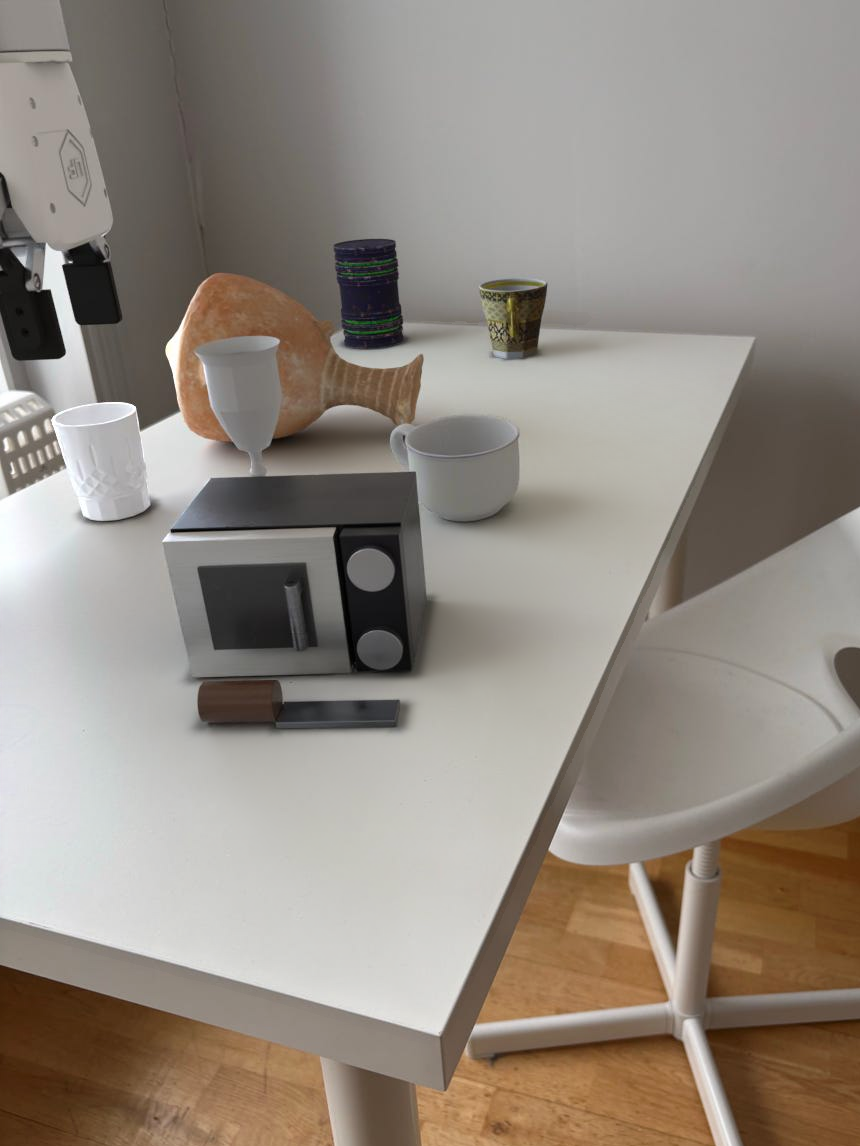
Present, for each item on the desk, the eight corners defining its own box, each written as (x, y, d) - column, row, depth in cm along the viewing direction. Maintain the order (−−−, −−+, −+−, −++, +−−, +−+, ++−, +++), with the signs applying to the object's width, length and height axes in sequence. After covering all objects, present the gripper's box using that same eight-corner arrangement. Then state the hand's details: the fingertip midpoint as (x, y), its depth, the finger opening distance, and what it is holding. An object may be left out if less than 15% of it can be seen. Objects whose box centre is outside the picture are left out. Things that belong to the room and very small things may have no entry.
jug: (197, 315, 129) (432, 334, 129) (180, 459, 127) (418, 478, 126) (147, 233, 109) (424, 255, 109) (125, 402, 107) (408, 424, 107)
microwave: (410, 679, 72) (396, 536, 66) (189, 683, 73) (158, 543, 67) (426, 599, 82) (416, 471, 77) (234, 604, 84) (210, 477, 78)
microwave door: (347, 685, 71) (328, 546, 66) (185, 690, 72) (153, 552, 66) (354, 661, 74) (336, 526, 69) (198, 666, 75) (168, 532, 69)
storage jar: (342, 337, 167) (330, 241, 160) (401, 332, 168) (392, 236, 161) (346, 351, 159) (334, 250, 151) (408, 345, 160) (399, 245, 153)
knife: (202, 731, 67) (194, 695, 66) (213, 707, 70) (206, 673, 68) (395, 727, 66) (391, 691, 65) (400, 704, 69) (397, 669, 68)
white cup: (112, 529, 99) (88, 430, 94) (60, 516, 103) (34, 420, 98) (172, 502, 105) (152, 407, 100) (121, 490, 109) (99, 398, 104)
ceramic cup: (483, 347, 157) (480, 279, 152) (548, 344, 156) (546, 276, 151) (480, 368, 145) (476, 296, 140) (549, 365, 145) (548, 293, 140)
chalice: (249, 562, 91) (213, 360, 82) (218, 539, 95) (181, 346, 87) (321, 539, 94) (294, 344, 85) (288, 519, 99) (259, 332, 90)
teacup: (544, 506, 99) (543, 426, 95) (464, 542, 92) (458, 457, 88) (448, 475, 107) (442, 401, 104) (368, 506, 101) (359, 428, 97)
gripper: (-9, 27, 50) (75, 372, 59) (116, 36, 65) (169, 310, 74) (-154, 36, 51) (-49, 377, 59) (3, 43, 66) (69, 314, 74)
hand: (72, 340), depth 66 cm, fingers open, 9 cm apart
